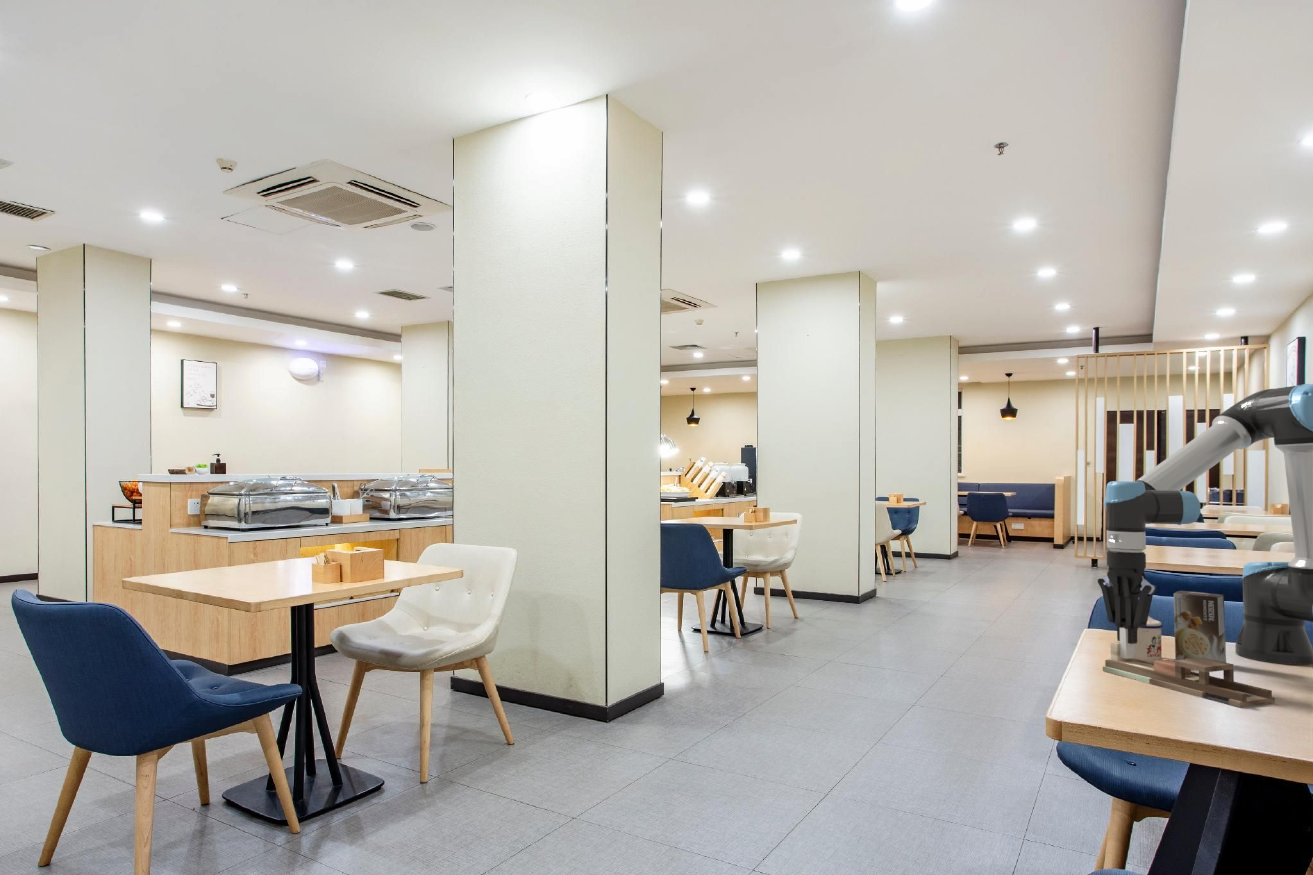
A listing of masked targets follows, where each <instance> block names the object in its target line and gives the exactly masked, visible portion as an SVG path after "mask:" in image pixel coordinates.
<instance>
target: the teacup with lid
mask: <svg viewBox="0 0 1313 875" xmlns="http://www.w3.org/2000/svg"><path fill="white" fill-rule="evenodd" d="M1162 628H1163V624H1162V622H1161V621H1159V620H1156V619H1154V618H1152V617H1151V616H1149V615H1148V620H1147V625H1146V626H1145V627H1141V628H1138V630H1137V644H1135V658H1138V659H1142V660H1146V661H1150V662H1154V661H1159V660H1163V659H1162V650H1163V649H1162ZM1118 642H1120V641H1118Z"/></svg>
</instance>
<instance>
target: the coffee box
mask: <svg viewBox="0 0 1313 875" xmlns="http://www.w3.org/2000/svg"><path fill="white" fill-rule="evenodd" d="M1173 615H1174V616H1173V619H1174V620H1173V622H1174V625H1173V626H1174V646H1175V647H1174V652H1175V655H1174V656H1175V660H1185V659H1195V658H1207V659H1212V660H1216V661H1221V662H1225V663H1227V655H1226V654H1227V653H1226V652H1227V651H1226V650H1227V648H1226V644H1227V643H1226V622H1225V620H1226V619H1225V618H1226V617H1225V616H1226V615H1225V595H1224V594H1218V593H1208V592H1200V591H1199V592H1198V591H1188V590H1178V591H1175V592H1174V593H1173ZM1175 660H1174V661H1175Z"/></svg>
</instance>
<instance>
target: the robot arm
mask: <svg viewBox="0 0 1313 875" xmlns="http://www.w3.org/2000/svg"><path fill="white" fill-rule="evenodd" d="M1272 438H1273V443H1274V447H1275V448H1277V449H1278V450H1280V451H1281V452H1282V453H1283V456H1284V457H1283V458H1284V467H1285V475H1286V485H1287V493H1288V494H1287V495H1288V504H1289V513H1290V519H1291V529H1292V530H1291V531H1292V538H1293V539H1292V540H1293V548H1294V557H1293V558H1292V559H1291V560H1290V561H1257V562H1256V561H1255V562H1254V561H1253V562H1247V563H1246V564H1244V565H1243V568H1242V577H1241V580H1242V581H1241V582H1242V606H1243V611H1242V612H1243V622H1242V626H1241V629H1240V632H1239V634H1238V636H1237V639H1236V641H1235V646H1234V647H1235V649H1234V650H1235V654H1236V655H1238V656H1240V657H1244V658H1248V659H1251V660H1257V661H1262V662H1267V663H1268V662H1269V663H1277V664H1287V665H1311V664H1313V646H1312V644H1311V642H1310V641H1311V640H1310V639H1309V637H1308V634H1307V632H1306V629H1305V628H1306V627H1305V622H1310V623H1313V383H1304V384H1298V385H1292V386H1284V387H1277V388H1268V389H1263V390H1259V391H1256V392H1254V393H1252V394H1250V395H1248V396H1245V397H1244V398H1243V399H1241V400H1240V401H1238V402H1236V403H1235V404H1233V405H1232V406H1230V407H1229V408H1228V409H1226V410H1224V411H1223V412H1222V413H1220V414H1219V415H1217V416H1216V417H1215V418H1214V419H1213V420H1212V422H1211V426H1210V427H1209V428H1206V430H1204V431H1203V432H1201V433H1200V434H1199V435H1197V436H1196V437H1194V438H1193V439H1191V441H1189V442H1188V443H1186V444H1184V445H1183V446H1182V447H1181V448H1179V449H1178V450H1176V451H1175V452H1174V453H1173V454H1171V455H1170V456H1168V457H1167V458H1166V459H1164V460H1163V461H1161V462H1160V463H1158V464H1157V465H1156V466H1155V467H1153V468H1152V469H1150V470H1149V471H1148V472H1146V473H1145V474H1143V475H1142V476H1141V477H1139V478H1138V479H1136V480H1135V481H1125V480H1124V481H1123V480H1122V481H1118V480H1115V481H1114V480H1113V481H1112V480H1111V481H1109V482H1108V483H1107V484H1106V490H1105V497H1104V500H1103V506H1104V510H1105V517H1106V518H1105V519H1106V520H1105V522H1106V523H1105V524H1106V527H1105V528H1106V548H1107V549H1109V550H1107V551H1106V566H1107V567H1108V570H1107V573H1106V576H1104V577H1103V578H1098V579H1097V583H1098V586H1099V587H1100V589H1101V594H1102V597H1103V603H1104V607H1105V610H1106V615H1107V621H1108V622H1109V623H1112V624H1114V625H1115V626H1116V640H1117V642H1119V641H1120V657H1121V658H1125V659H1129V658H1135V644H1137V630H1138V628H1141V627H1145V626H1146V625H1147V620H1148V616H1149V614H1150V611H1151V610H1150V609H1151V604H1152V600H1153V596H1154V594H1155V593H1156V592H1157V589H1158V586H1157V585H1155V584H1151V583H1150V582H1149V581H1148V580H1147V576H1146V574H1145V569H1146V568H1147V559H1146V558H1147V556H1146V555H1147V554H1146V553H1145V551H1144V550H1146V549H1147V548H1146V547H1147V546H1146V545H1147V544H1146V542H1147V538H1146V525H1150V524H1154V525H1178V526H1181V525H1190V524H1193V523H1195V522H1196V521H1198V519H1199V517H1200V515H1201V503H1200V499H1199V497H1197V495H1196V494H1195V493H1194V492H1192V491H1189V490H1188V491H1187V490H1182V489H1184V488H1186V487H1187V486H1188V485H1189V484H1191V483H1192V482H1193V481H1195V480H1197V479H1198V478H1199V477H1200V476H1202V475H1203V474H1204V473H1206V472H1207V471H1209V470H1210V469H1212V468H1213V467H1214V466H1216V465H1217V464H1218V463H1220V462H1221V461H1223V460H1224V459H1225V458H1226V457H1228V456H1230V455H1231V454H1233V453H1234V452H1236V450H1245V449H1247V448H1249V447H1250V446H1252V445H1253V444H1254V443H1255V444H1256V442H1259V441H1262V440H1268V439H1272Z"/></svg>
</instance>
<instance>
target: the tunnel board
mask: <svg viewBox="0 0 1313 875" xmlns="http://www.w3.org/2000/svg"><path fill="white" fill-rule="evenodd" d="M1104 660H1105V662H1104V664H1105V665H1103V666H1102V672H1105V673H1108V672H1109V674H1113V675H1117V676H1120V677H1123V676H1124V678H1127V679H1131V680H1134V679H1136V681H1138V682H1142V681H1143V682H1142V683H1147V684H1150V685H1153V686H1157V687H1161V688H1164V689H1169V690H1172V691H1175V692H1180V693H1183V694H1187V695H1191V696H1195V697H1199V698H1202V699H1206V700H1209V701H1212V702H1213V701H1214V702H1217V703H1220V704H1225V705H1228V706H1231V707H1236V708H1246V707H1254V706H1262V705H1263V704H1264V705H1270V704H1275V702H1276V698H1275V697H1274V696H1273V690H1271V689H1267V688H1262V687H1259V686H1254V685H1249V684H1246V683H1242V682H1238V681H1235V677H1234V672H1235V669H1234V664H1233V663H1230V662H1226V663H1225V662H1221V661H1216V660H1212V659H1207V658H1195V659H1185V660H1174V661H1175V676H1173V675H1169V674H1165V673H1161V672H1157V671H1153V670H1149V669H1145V668H1141V667H1137V666H1133V665H1129V664H1125V663H1121V662H1117V661H1113V660H1111V659H1104ZM1132 660H1133V661H1137V662H1141V663H1146V664H1150V665H1154V662H1150V661H1146V660H1142V659H1138V658H1132ZM1185 668H1188V669H1191V675H1195V676H1199V682H1198V681H1194V680H1190V679H1185ZM1193 670H1194V671H1193ZM1195 671H1196V672H1195ZM1220 671H1221V672H1222V674H1223V678H1220V677H1216V676H1212V675H1210V673H1211V672H1220ZM1264 705H1263V706H1264Z"/></svg>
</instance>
